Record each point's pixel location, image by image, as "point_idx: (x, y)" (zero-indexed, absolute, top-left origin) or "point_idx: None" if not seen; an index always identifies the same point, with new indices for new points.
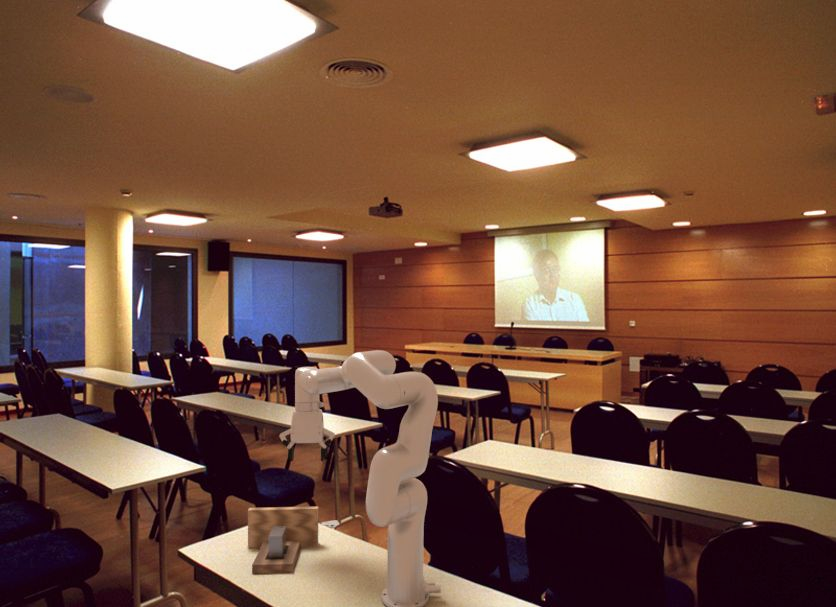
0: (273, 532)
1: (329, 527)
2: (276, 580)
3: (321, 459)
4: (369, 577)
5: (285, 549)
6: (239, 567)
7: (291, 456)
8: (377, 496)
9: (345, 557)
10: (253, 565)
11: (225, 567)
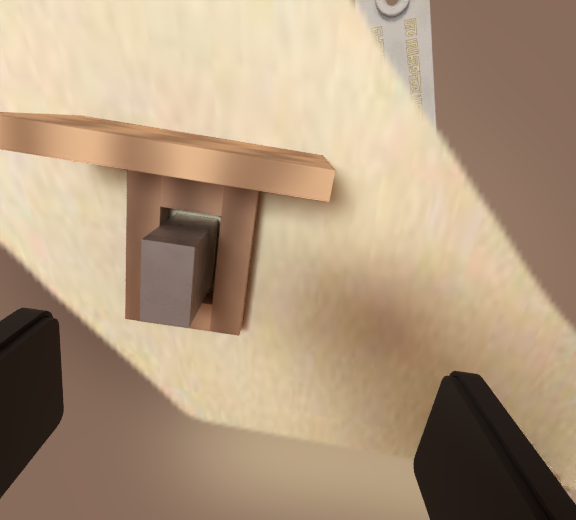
0: (152, 294)
1: (379, 9)
2: (205, 351)
3: (424, 487)
4: (434, 383)
5: (211, 239)
6: (91, 266)
7: (8, 476)
8: None
9: (395, 272)
10: (130, 318)
11: (50, 258)
